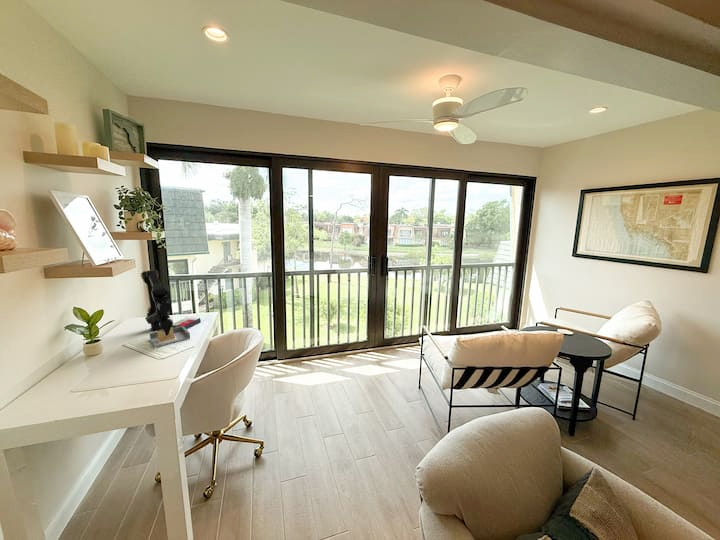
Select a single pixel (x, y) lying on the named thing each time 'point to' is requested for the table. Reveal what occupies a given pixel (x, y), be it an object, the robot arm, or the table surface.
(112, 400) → the table surface
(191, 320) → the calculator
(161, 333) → the bracket
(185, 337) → the arena
